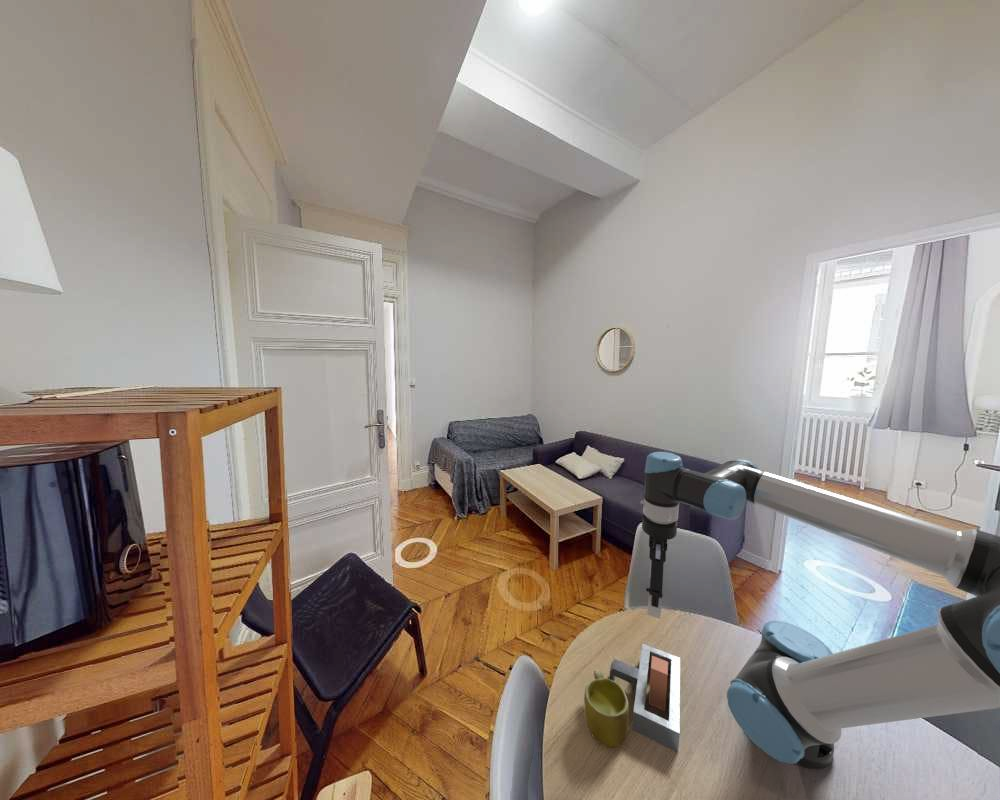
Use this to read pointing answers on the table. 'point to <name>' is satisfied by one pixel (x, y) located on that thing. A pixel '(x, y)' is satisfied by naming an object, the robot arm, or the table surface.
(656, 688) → the terracotta clay brick
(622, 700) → the mug
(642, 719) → the hollow metal rectangle ring
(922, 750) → the table surface
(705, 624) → the table surface
